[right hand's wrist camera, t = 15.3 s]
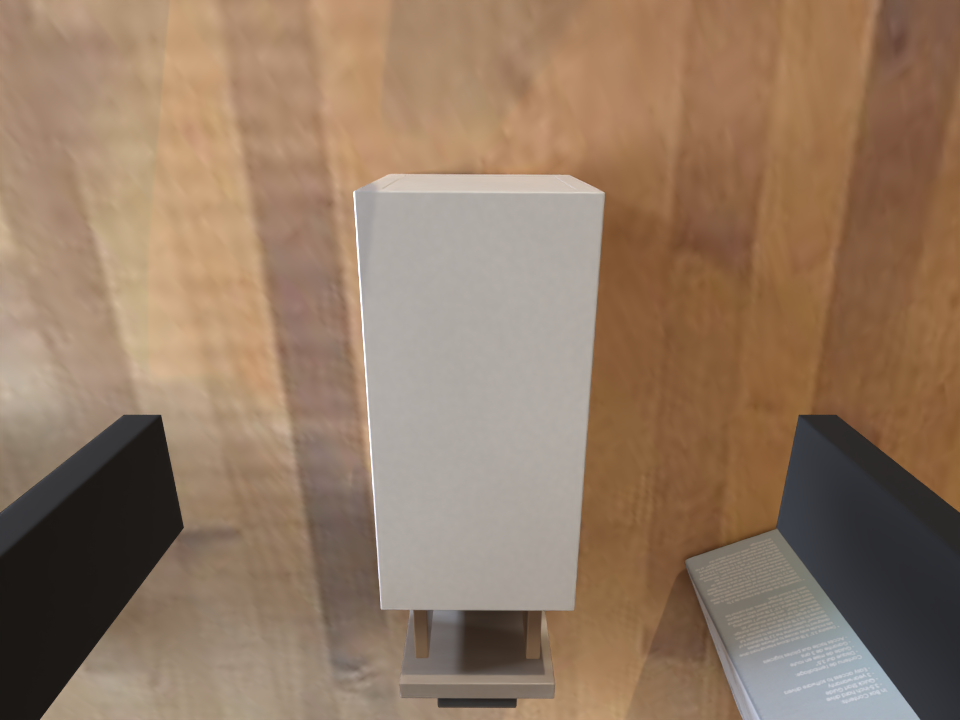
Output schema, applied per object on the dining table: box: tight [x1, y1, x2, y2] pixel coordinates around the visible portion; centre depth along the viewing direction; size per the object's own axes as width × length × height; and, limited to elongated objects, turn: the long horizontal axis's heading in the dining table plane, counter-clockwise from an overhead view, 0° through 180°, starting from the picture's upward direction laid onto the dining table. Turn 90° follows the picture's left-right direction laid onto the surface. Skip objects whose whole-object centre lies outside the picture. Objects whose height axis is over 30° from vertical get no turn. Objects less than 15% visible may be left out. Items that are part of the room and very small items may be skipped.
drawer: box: [399, 610, 555, 708], centre depth 38 cm, size 26×9×9 cm, turn 0°
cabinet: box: [354, 174, 605, 611], centre depth 34 cm, size 22×10×11 cm, turn 0°
